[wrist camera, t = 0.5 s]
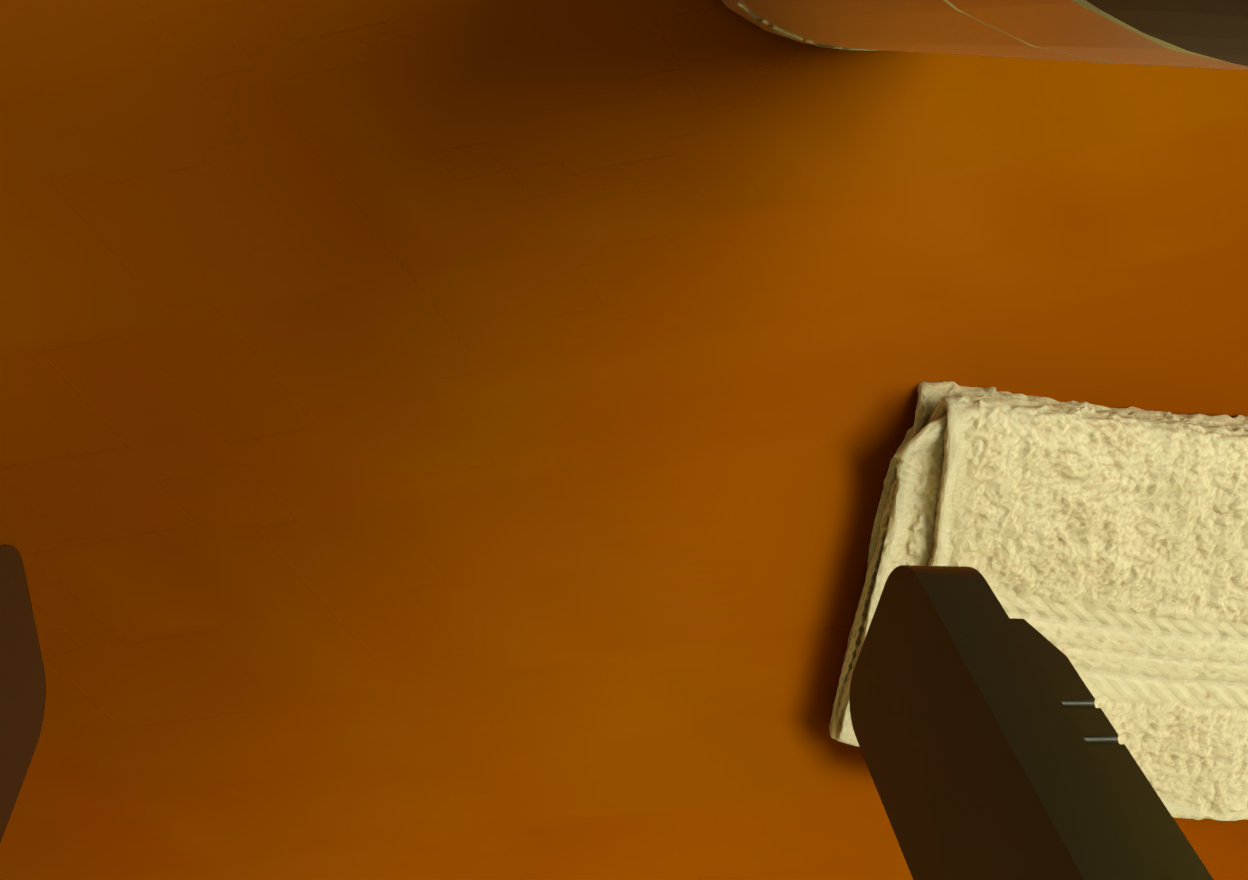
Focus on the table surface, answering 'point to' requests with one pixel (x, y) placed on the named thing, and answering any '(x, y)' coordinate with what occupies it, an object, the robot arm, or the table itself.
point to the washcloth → (1092, 563)
